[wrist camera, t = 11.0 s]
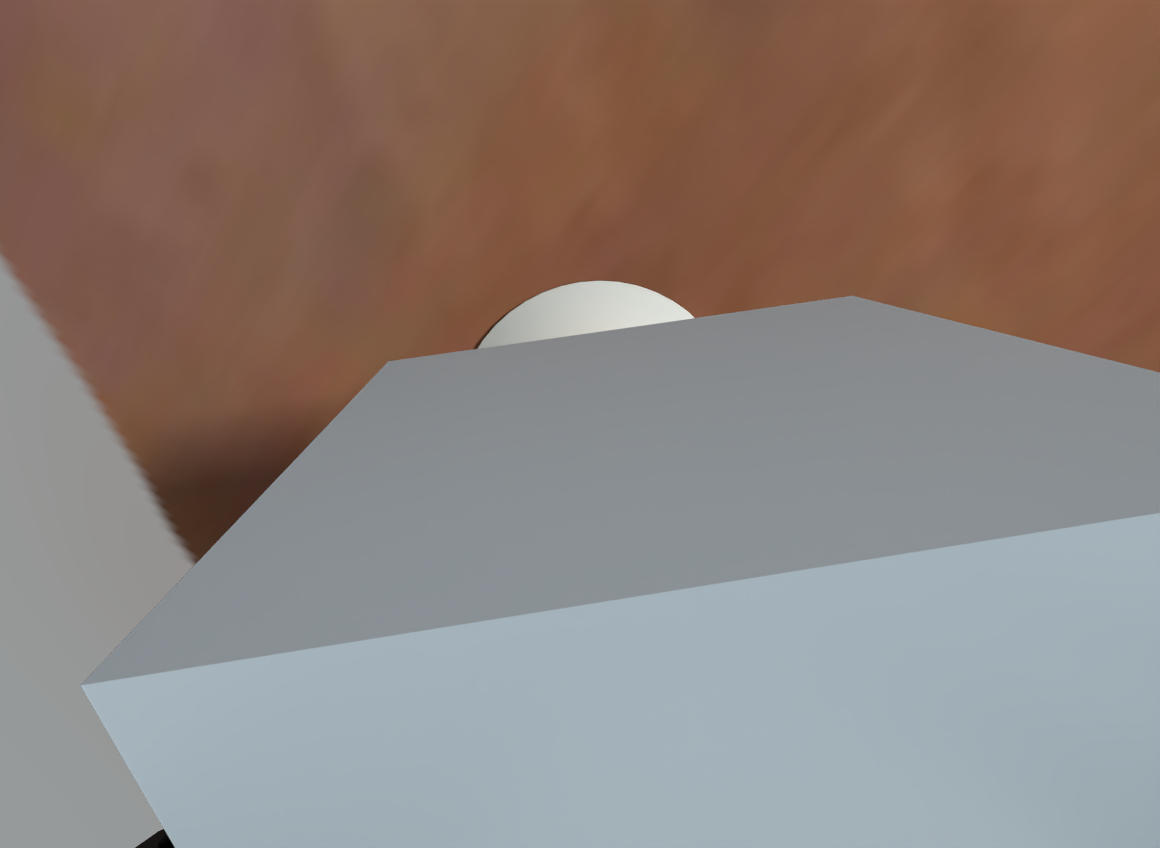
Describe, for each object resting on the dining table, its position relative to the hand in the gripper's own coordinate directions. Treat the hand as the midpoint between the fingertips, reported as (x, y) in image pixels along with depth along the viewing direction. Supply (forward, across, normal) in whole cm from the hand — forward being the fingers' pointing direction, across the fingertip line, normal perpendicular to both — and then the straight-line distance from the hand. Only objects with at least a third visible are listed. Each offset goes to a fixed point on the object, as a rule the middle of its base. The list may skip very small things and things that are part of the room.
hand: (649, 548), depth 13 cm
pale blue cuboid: (+1, 0, 0) cm, 1 cm away
